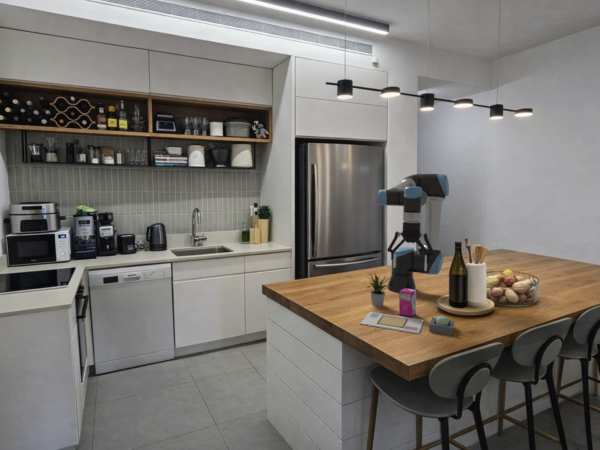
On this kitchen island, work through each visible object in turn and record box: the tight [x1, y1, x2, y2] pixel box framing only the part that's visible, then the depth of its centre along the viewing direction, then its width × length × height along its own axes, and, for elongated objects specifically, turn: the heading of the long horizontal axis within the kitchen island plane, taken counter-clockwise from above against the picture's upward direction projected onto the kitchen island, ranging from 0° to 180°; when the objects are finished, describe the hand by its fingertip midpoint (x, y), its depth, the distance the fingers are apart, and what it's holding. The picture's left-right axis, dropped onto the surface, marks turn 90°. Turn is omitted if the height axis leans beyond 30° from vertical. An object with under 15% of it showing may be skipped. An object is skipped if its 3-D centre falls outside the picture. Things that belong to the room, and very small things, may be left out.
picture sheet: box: [359, 311, 425, 335], centre depth 172 cm, size 16×24×1 cm, turn 66°
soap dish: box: [428, 317, 456, 336], centre depth 165 cm, size 9×9×3 cm
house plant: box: [364, 272, 392, 307], centre depth 195 cm, size 14×14×16 cm
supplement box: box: [398, 288, 417, 318], centre depth 182 cm, size 6×6×12 cm
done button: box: [435, 315, 450, 326], centre depth 164 cm, size 5×5×4 cm
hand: (409, 268), depth 179 cm, fingers open, 13 cm apart
